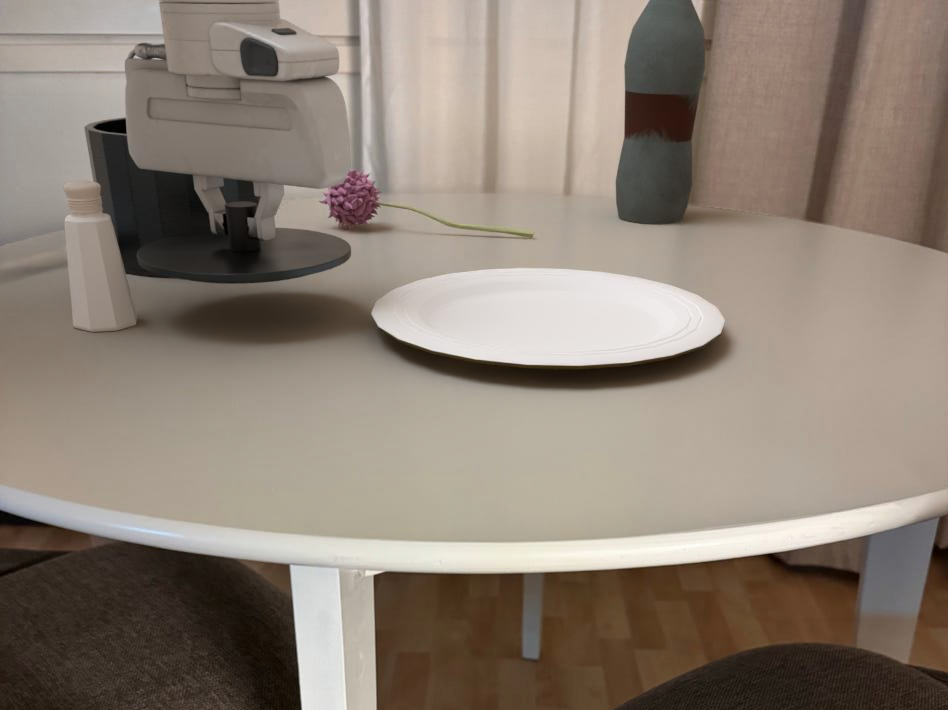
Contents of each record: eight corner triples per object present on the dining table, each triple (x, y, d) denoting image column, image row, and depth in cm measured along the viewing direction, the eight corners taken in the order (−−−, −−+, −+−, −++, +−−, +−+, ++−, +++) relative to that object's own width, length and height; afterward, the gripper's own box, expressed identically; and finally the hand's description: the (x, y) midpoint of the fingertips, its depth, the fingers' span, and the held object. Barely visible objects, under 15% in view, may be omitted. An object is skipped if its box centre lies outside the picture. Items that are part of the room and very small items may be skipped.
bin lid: (92, 272, 87) (81, 211, 84) (232, 233, 100) (226, 179, 97) (264, 301, 80) (258, 235, 77) (391, 255, 93) (389, 197, 90)
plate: (620, 277, 105) (621, 257, 104) (795, 365, 82) (799, 340, 81) (332, 302, 96) (331, 280, 95) (439, 408, 73) (439, 381, 72)
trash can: (72, 264, 107) (47, 127, 100) (185, 234, 119) (169, 111, 113) (199, 285, 100) (181, 141, 94) (305, 252, 113) (295, 122, 106)
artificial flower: (533, 254, 125) (328, 211, 127) (543, 194, 121) (330, 151, 122) (524, 277, 120) (311, 232, 122) (534, 216, 116) (312, 170, 117)
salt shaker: (122, 334, 87) (97, 190, 81) (60, 330, 88) (31, 187, 82) (149, 316, 91) (128, 178, 86) (90, 312, 92) (65, 176, 86)
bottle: (654, 228, 126) (684, -78, 110) (597, 216, 131) (617, -76, 115) (703, 218, 131) (738, -75, 115) (646, 207, 137) (671, -73, 121)
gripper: (93, 43, 83) (123, 229, 90) (306, 54, 75) (320, 258, 82) (150, 39, 88) (174, 217, 95) (357, 49, 79) (365, 242, 87)
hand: (244, 236), depth 88 cm, fingers closed on bin lid, 2 cm apart
